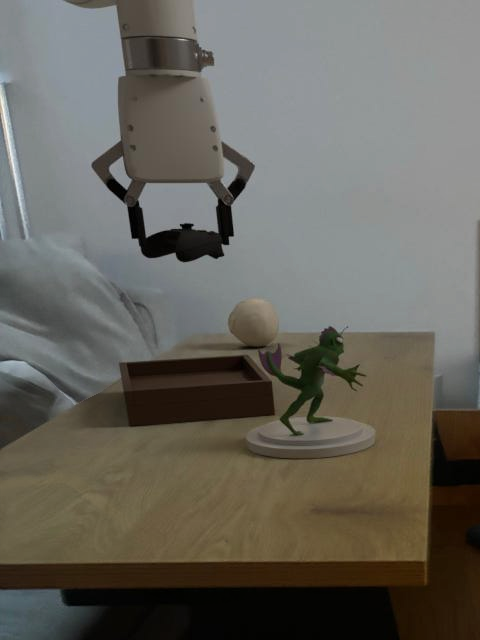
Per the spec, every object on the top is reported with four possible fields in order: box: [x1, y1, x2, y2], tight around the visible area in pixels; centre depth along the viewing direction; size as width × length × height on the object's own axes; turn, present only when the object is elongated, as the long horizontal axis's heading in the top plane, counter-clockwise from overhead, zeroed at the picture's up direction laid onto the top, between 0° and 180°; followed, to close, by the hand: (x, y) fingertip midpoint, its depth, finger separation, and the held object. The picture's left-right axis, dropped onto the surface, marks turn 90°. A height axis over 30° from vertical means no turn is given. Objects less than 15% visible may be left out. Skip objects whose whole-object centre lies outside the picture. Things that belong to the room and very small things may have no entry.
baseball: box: [227, 297, 280, 348], centre depth 143 cm, size 7×7×7 cm
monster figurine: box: [245, 325, 376, 460], centre depth 90 cm, size 12×12×10 cm
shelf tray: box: [118, 354, 276, 427], centre depth 108 cm, size 15×18×4 cm
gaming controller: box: [140, 222, 225, 263], centre depth 109 cm, size 10×5×6 cm
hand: (184, 244), depth 108 cm, fingers closed on gaming controller, 8 cm apart
